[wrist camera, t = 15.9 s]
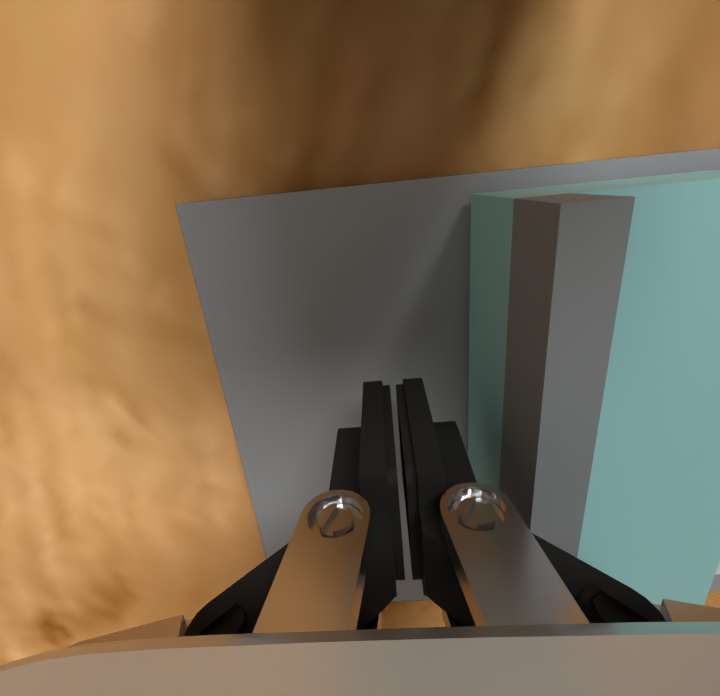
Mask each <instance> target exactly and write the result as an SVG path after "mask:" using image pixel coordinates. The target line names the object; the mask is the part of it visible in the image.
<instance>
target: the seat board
mask: <svg viewBox="0 0 720 696" xmlns="http://www.w3.org/2000/svg"><path fill="white" fill-rule="evenodd" d="M706 170H720V148H715V149H705V150H696V151H686V152H676V153H666V154H657V155H647V156H637V157H628V158H618V159H608V160H598V161H589V162H579V163H569V164H560V165H550V166H540V167H530V168H521V169H511V170H501V171H492V172H482V173H472V174H462V175H453V176H443V177H433V178H423V179H414V180H404V181H394V182H385V183H375V184H365V185H355V186H346V187H336V188H326V189H317V190H307V191H297V192H287V193H278V194H268V195H258V196H249V197H239V198H229V199H219V200H210V201H200V202H190V203H181V204H175V205H176V209H177V213H178V217H179V221H180V225H181V228H182V232H183V236H184V240H185V244H186V248H187V252H188V256H189V259H190V263H191V267H192V271H193V275H194V279H195V283H196V287H197V290H198V294H199V298H200V302H201V306H202V310H203V314H204V318H205V321H206V325H207V329H208V333H209V337H210V341H211V345H212V348H213V352H214V356H215V360H216V364H217V368H218V372H219V376H220V379H221V383H222V387H223V391H224V395H225V399H226V403H227V407H228V410H229V414H230V418H231V422H232V426H233V430H234V434H235V438H236V441H237V445H238V449H239V453H240V457H241V461H242V465H243V469H244V472H245V476H246V480H247V484H248V488H249V492H250V496H251V499H252V503H253V507H254V511H255V515H256V519H257V523H258V527H259V530H260V534H261V538H262V542H263V546H264V550H265V554H266V558H267V559H268V558H269V557H270V556H272V555H273V554H274V553H276V552H277V551H278V550H280V549H281V548H282V547H284V546H285V545H286V544H288V543H289V542H290V539H291V537H292V534H293V532H294V529H295V527H296V524H297V522H298V520H299V517H300V515H301V512H302V511H303V509H304V507H305V506H306V504H307V503H308V502H310V501H311V500H312V499H313V498H314V497H316V496H318V495H320V494H321V493H324V492H327V491H329V487H330V480H331V473H332V466H333V459H334V452H335V445H336V438H337V432H338V429H339V428H352V427H361V416H362V397H363V382H369V381H382V384H383V385H390V392H391V404H392V417H393V429H394V441H395V453H396V466H397V478H398V491H399V504H400V517H401V530H402V544H403V557H404V570H405V580H396V588H397V597H395V598H394V599H393V600H392V601H422V600H431V599H430V598H428V597H427V596H424V594H423V586H422V580H413V578H412V568H411V558H410V548H409V538H408V528H407V518H406V508H405V498H404V488H403V477H402V466H401V453H400V439H399V425H398V410H397V396H396V384H403V379H411V378H422V380H423V384H424V388H425V392H426V396H427V400H428V404H429V408H430V412H431V416H432V420H433V422H445V421H455V422H456V424H457V426H458V429H459V432H460V435H461V438H462V441H463V444H464V447H465V449H466V452H467V455H468V398H469V314H470V229H471V194H475V193H485V192H495V191H505V190H515V189H525V188H535V187H545V186H556V185H566V184H576V183H586V182H596V181H606V180H616V179H626V178H636V177H646V176H656V175H666V174H676V173H686V172H696V171H706ZM719 590H720V562H719V564H718V567H717V570H716V573H715V576H714V579H713V581H712V584H711V587H710V590H709V591H719ZM392 601H391V602H392Z"/></svg>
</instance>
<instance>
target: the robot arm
mask: <svg viewBox="0 0 720 696" xmlns="http://www.w3.org/2000/svg"><path fill="white" fill-rule="evenodd" d="M396 396H397V410H398V425H399V439H400V453H401V466H402V477H403V488H404V498H405V508H406V518H407V528H408V538H409V548H410V558H411V568H412V578H413V580H422V586H423V594H424V596H427V597H428V598H430V599H431V600H432V601H433V602H435V603H436V604H437V605H438V606H439V607H441V608H442V613H443V619H444V623H445V627H434V628H401V629H382V611H383V609H384V608H385V607H386V606H387V605H388V604H389V603H390V602H391V601H392V600H393V599H394V598H395V597H397V588H396V580H405V570H404V557H403V544H402V530H401V517H400V504H399V491H398V478H397V466H396V453H395V441H394V429H393V417H392V404H391V392H390V385H383V384H382V381H369V382H363V397H362V416H361V427H352V428H339V429H338V432H337V438H336V445H335V452H334V459H333V466H332V473H331V480H330V487H329V491H327V492H324V493H321V494H320V495H318V496H316V497H314V498H313V499H312V500H311V501H310V502H308V503H307V504H306V506H305V507H304V509H303V511H302V512H301V515H300V517H299V520H298V522H297V524H296V527H295V529H294V532H293V534H292V537H291V539H290V542H289V543H288V544H286V545H285V546H284V547H282V548H281V549H280V550H278V551H277V552H276V553H274V554H273V555H272V556H270V557H269V558H268V559H266V560H265V561H264V562H262V563H261V564H260V565H258V566H257V567H256V568H254V569H253V570H252V571H250V572H249V573H248V574H246V575H245V576H244V577H242V578H241V579H240V580H238V581H237V582H236V583H234V584H233V585H232V586H230V587H229V588H228V589H226V590H225V591H224V592H222V593H221V594H220V595H218V596H217V597H216V598H214V599H213V600H212V601H210V602H209V603H208V604H207V605H206V606H204V607H203V608H202V609H201V610H200V611H199V612H198V613H197V614H196V616H195V617H194V618H193V619H189V620H186V621H185V619H184V616H183V615H180V616H176V617H172V618H168V619H164V620H161V621H157V622H153V623H149V624H145V625H142V626H138V627H134V628H130V629H126V630H123V631H119V632H115V633H111V634H107V635H104V636H100V637H96V638H92V639H88V640H85V641H81V642H78V643H76V644H74V645H71V646H69V647H67V648H63V649H57V650H52V651H48V652H44V653H41V654H37V655H34V656H30V657H27V658H23V659H20V660H16V661H13V662H10V663H7V664H5V665H2V666H0V696H720V608H715V607H710V606H704V605H698V604H692V603H686V602H680V601H674V600H668V599H662V603H661V605H657V604H652V603H651V602H650V601H649V600H648V599H647V598H645V597H644V596H642V595H641V594H639V593H638V592H637V591H635V590H634V589H632V588H630V587H629V586H627V585H625V584H623V583H621V582H620V581H618V580H616V579H614V578H612V577H611V576H609V575H607V574H605V573H603V572H602V571H600V570H598V569H596V568H594V567H593V566H591V565H589V564H587V563H585V562H584V561H582V560H580V559H578V558H576V557H574V556H573V555H571V554H569V553H567V552H565V551H564V550H562V549H560V548H558V547H556V546H555V545H553V544H551V543H549V542H547V541H546V540H544V539H542V538H540V537H538V536H537V535H535V534H533V533H531V531H530V530H529V528H528V527H527V525H526V524H525V522H524V520H523V519H522V517H521V516H520V514H519V513H518V511H517V510H516V508H515V506H514V505H513V503H512V502H511V501H510V500H509V498H508V497H507V496H506V495H505V494H504V493H502V492H501V491H499V490H498V489H496V488H494V487H491V486H489V485H486V484H481V483H477V481H476V478H475V475H474V473H473V470H472V467H471V464H470V461H469V458H468V455H467V452H466V449H465V447H464V444H463V441H462V438H461V435H460V432H459V429H458V426H457V424H456V422H455V421H445V422H433V420H432V416H431V412H430V408H429V404H428V400H427V396H426V392H425V388H424V384H423V380H422V378H411V379H403V384H396Z"/></svg>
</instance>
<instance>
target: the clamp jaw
mask: <svg viewBox="0 0 720 696" xmlns="http://www.w3.org/2000/svg"><path fill="white" fill-rule="evenodd" d="M468 458H469V461H470V464H471V467H472V470H473V473H474V475H475V478H476V481H477V483H481V484H486V485H489V486H491V487H494V488H496V489H498V490H499V491H501V492H502V493H504V494H505V495H506V496H507V497H508V498H509V500H510V501H511V502H512V503H513V505H514V506H515V508H516V510H517V511H518V513H519V514H520V516H521V517H522V519H523V520H524V522H525V524H526V525H527V527H528V528H529V530H530V531H531V533H533V534H535V535H537V536H538V537H540V538H542V539H544V540H546V541H547V542H549V543H551V544H553V545H555V546H556V547H558V548H560V549H562V550H564V551H565V552H567V553H569V554H571V555H573V556H574V557H576V558H578V559H580V560H582V561H584V562H585V563H587V564H589V565H591V566H593V567H594V568H596V569H598V570H600V571H602V572H603V573H605V574H607V575H609V576H611V577H612V578H614V579H616V580H618V581H620V582H621V583H623V584H625V585H627V586H629V587H630V588H632V589H634V590H635V591H637V592H638V593H639V594H641V595H642V596H644V597H645V598H647V599H648V600H649V601H650V602H651V603H652V604H657V605H661V603H662V599H668V600H674V601H680V602H686V603H692V604H698V605H704V604H705V601H706V598H707V595H708V593H709V590H710V587H711V584H712V581H713V579H714V576H715V573H716V570H717V567H718V564H719V562H720V170H706V171H696V172H686V173H676V174H666V175H656V176H646V177H636V178H626V179H616V180H606V181H596V182H586V183H576V184H566V185H556V186H545V187H535V188H525V189H515V190H505V191H495V192H485V193H475V194H471V229H470V314H469V398H468Z"/></svg>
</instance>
